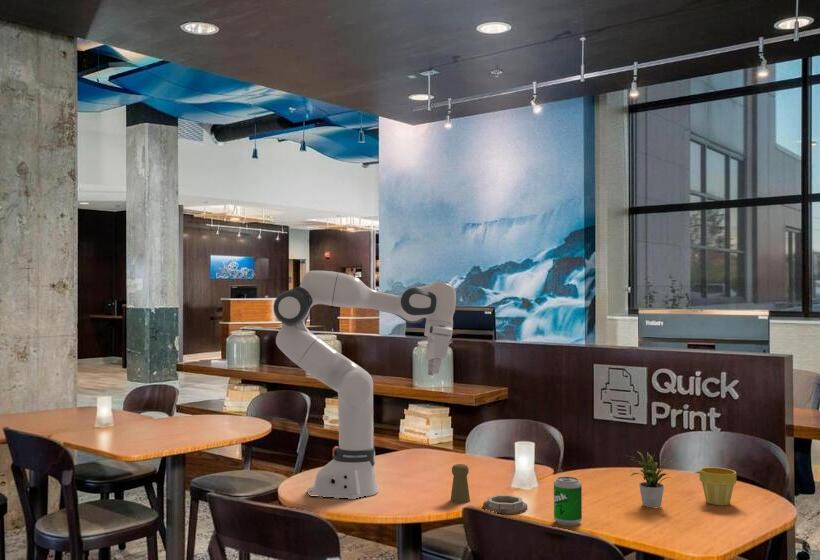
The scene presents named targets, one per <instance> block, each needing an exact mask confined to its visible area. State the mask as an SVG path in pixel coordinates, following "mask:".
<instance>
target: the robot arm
mask: <svg viewBox="0 0 820 560" xmlns="http://www.w3.org/2000/svg"><path fill="white" fill-rule="evenodd" d="M456 304H457V292H456V288H455V287H454V286H453V285H451V284H450V283H447V282H445V281H442V280H441V281H439V280H436V281H435V280H434V281H433V282H431V283H429V284H427V285H422V286H418V287H412V288H408V289H406V290H405V291H404V292H403V293H402V295H397V294H392V293H387V292H383V291H378V290H375V289H373V288H371V287H369V286H367V285H366V284H365V283H364V282H363V281H362V280H361V279H360V278H359V277H356V276H353V275H351V274H347V273H345V272H338V271H331V270H310V271H307V272H306V273H305V275H303V277H302V279H301V283H300V285H299V286H297V287H293V288H291V289H288V290H285V291H283V292H281V293H280V294H278V296H277V297H276V298H275V300H274V302H273V313H274V316H275V318H276V319H277V320H278V321H279V322H281V327H280V329H279V330H278V333H277V334H276V337H275V344H276V346H277V348H278V349H279V350H280V351H281V352H282V353H283V354H284V355H285V357H287V358H288V359H289V360H290V361H291V362H292V363H293V364H295V365H297V366H298V367H299V368H300V369H302V370H303V371H305V372H306V373H307V374H309V375H310V376H312V377H313V378H314V379H315V380H317V381H319V382H321V383H322V384H324V385H326V386H328V387H329V388H331V389H332V390H333V391H335V392H337V402H338V405H337V406H338V407H337V408H338V410H337V411H338V446H337V445H335V446H334V447H333V448H332V453H331V454H332V460H330V461H329V462H328V463H327V464H325V465H324V466H323V467H321V468H320V469H319V470H318V471H317V473H316V475H315V479H314V484H313V485H310V486H309V487H308V489H307V492H308V493H309V494H310V495H318V496H325V497H334V498H333V499H339V498H348V499H347V500H357V499H356V498H358V499H360V498H359V497H361V498H364V496H366V497H370V496H373V495H377V494H378V493H379V488H378V484H377V479H376V472H375V463H376V451H375V450H376V448H375V446H374V380H373V378H372V376H371V374H370V373H369V372H368V371H367V370H366V369H364V368H363V367H361V366H360V365H359V364H357V363H355V362H354V361H352V360H351V359H349V358H348V357H346V356H345V355H343V354H342V353H340V352H338V350H336V349H335V348H333V347H332V346H331V345H329V344H328V343H327V342H325V341H324V340H323V339H321V338H320V337H318V336H317V335H316V334H314V333H313V332H312V331H311V330H309V328H308V327H307V326H306V324H307V321H308V318H309V316H310V313H311V308H312V307H313V306H316V305H325V306H329V307H330V306H333V307H335V308H336V307H337V308H348V309H368V310H372V311H373V310H374V311H378V312H379V311H380V312H383V313H387V314H388V313H389V314H392V315H394V316H397V317H399V318H400V319H402V320H403V321H404V322H406V323H409V324H416V323H417V324H418V323H420V322H422V321H423V320H424V319H425V326H424V333H423V334H424V335H423V336H425V337H427V344H426V348H425V349H426V350H425V354H424V355H425V356H424V362H427V376H429V377H432V376H434V375H438V374H440V373H439V371H440V367H441V364H442V360H444V359H446V358H447V355H448V349H449V345H450V340H451V339H452V338H453V337H452V336H453V332H454V331H453V330H454V329H453V328H454V319H453V318H454V314H455V312H456Z"/></svg>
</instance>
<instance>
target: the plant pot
mask: <svg viewBox="0 0 820 560" xmlns="http://www.w3.org/2000/svg"><path fill="white" fill-rule="evenodd" d="M698 476H699V481H700V482H701V484H702V488H703V493H704V497H705V502H706V503H707V504H709V505H712V506H713V505H714V506H720V505H721V506H723V507H724V505H725V506H729V505H730V504H731V499H732V494H733V490H734V487H735V486H734V485H736V484H737V472H736V471H735V470H734V469H730V468H729V469H728V468H723V467H716V466H715V467H712V466H711V467H710V466H709V467H707V466H706V467H702V468H700V469H699V473H698ZM721 506H720V507H721Z"/></svg>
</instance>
